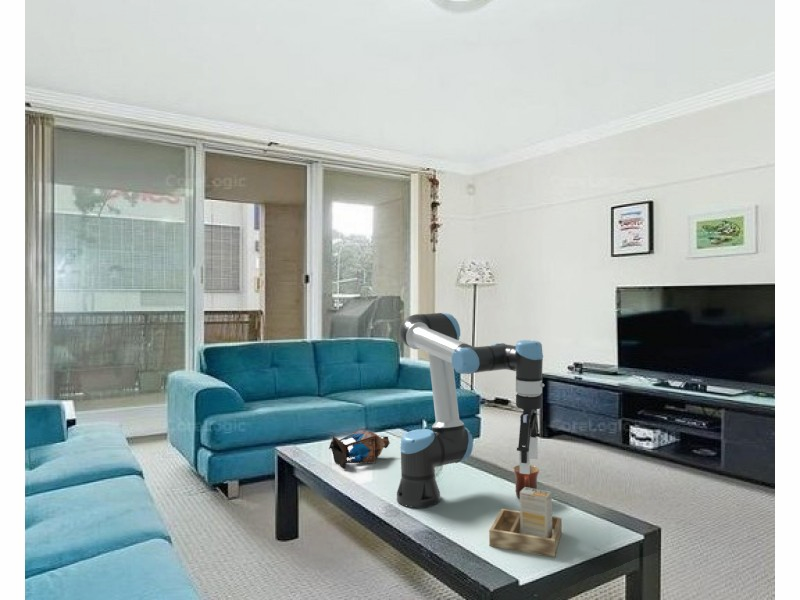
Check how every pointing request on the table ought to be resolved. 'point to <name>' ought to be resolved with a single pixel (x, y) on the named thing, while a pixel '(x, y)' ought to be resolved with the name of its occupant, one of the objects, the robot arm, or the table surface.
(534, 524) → the supplement box
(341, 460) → the lantern
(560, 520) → the frame
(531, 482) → the mug
